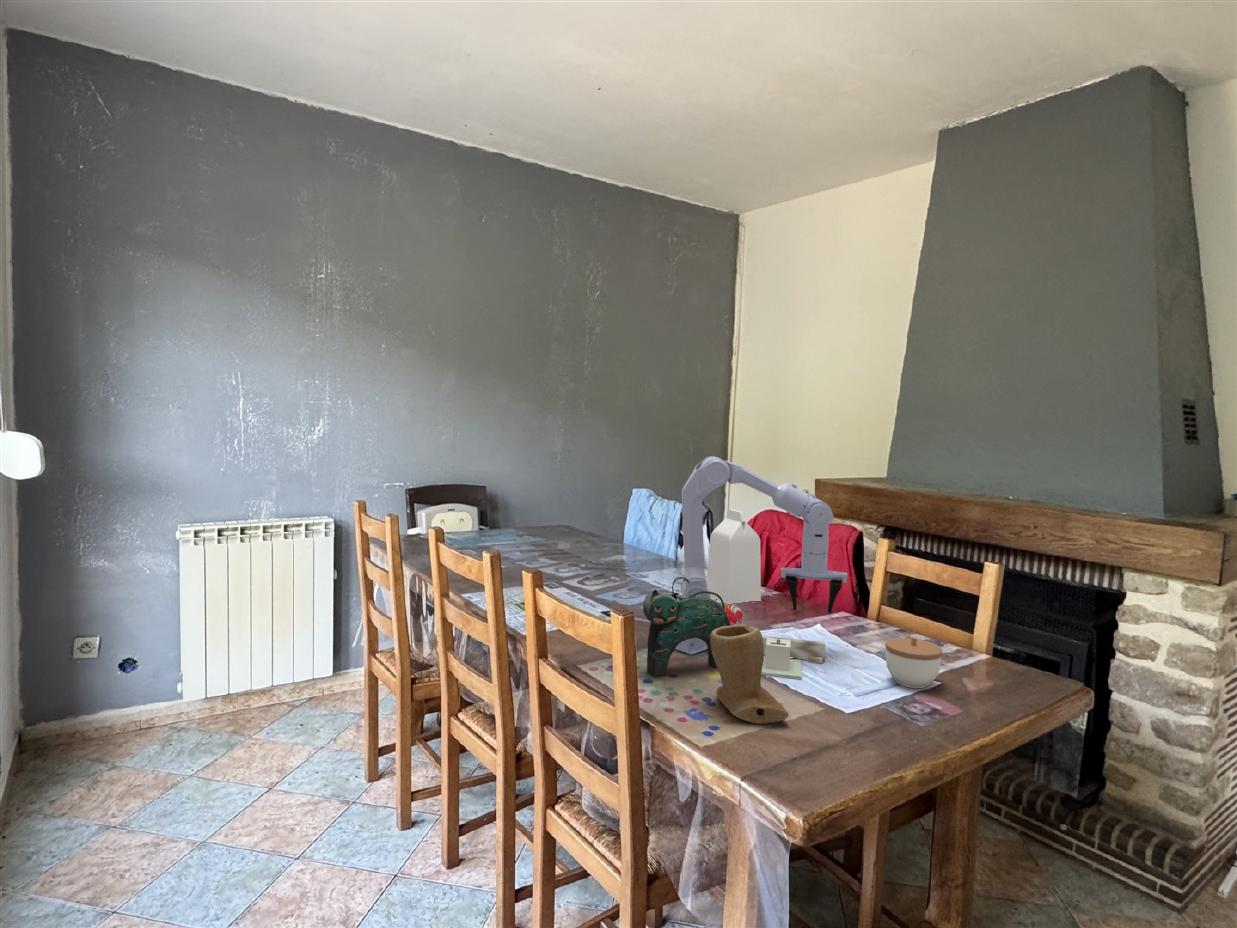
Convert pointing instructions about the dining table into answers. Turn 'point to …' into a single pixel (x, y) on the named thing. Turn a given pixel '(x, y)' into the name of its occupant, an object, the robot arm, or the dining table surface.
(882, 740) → the dining table surface
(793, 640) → the beige wooden bar
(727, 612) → the soda can
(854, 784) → the dining table surface
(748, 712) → the clay boot
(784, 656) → the marked cube
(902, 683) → the lidded jar
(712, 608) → the ceramic cat
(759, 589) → the milk
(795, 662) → the pad
